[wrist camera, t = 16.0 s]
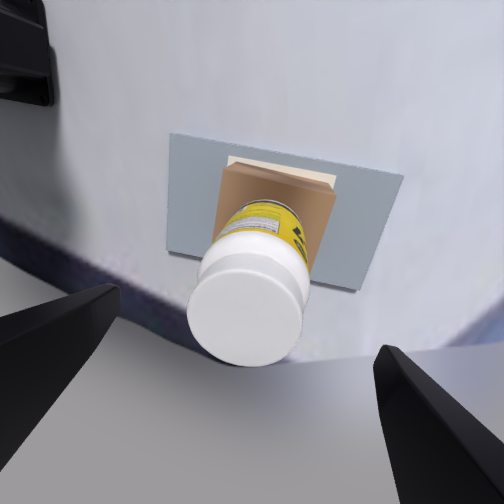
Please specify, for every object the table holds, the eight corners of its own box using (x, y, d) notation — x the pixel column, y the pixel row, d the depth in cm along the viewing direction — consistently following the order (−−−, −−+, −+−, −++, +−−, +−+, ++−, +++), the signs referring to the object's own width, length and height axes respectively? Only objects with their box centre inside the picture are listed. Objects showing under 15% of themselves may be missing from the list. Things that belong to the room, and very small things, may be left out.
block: (221, 245, 22) (207, 268, 18) (236, 161, 19) (223, 168, 16) (302, 265, 22) (303, 292, 18) (328, 182, 19) (336, 195, 15)
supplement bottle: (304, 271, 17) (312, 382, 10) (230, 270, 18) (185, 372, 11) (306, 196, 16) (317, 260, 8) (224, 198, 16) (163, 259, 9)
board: (169, 247, 23) (166, 250, 23) (173, 133, 20) (169, 133, 19) (358, 286, 23) (360, 290, 22) (401, 174, 19) (404, 176, 18)
